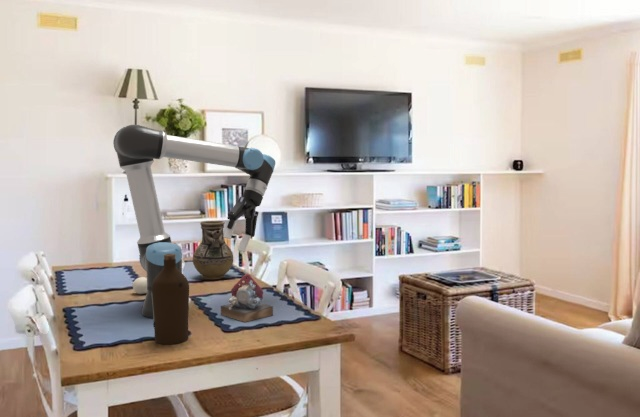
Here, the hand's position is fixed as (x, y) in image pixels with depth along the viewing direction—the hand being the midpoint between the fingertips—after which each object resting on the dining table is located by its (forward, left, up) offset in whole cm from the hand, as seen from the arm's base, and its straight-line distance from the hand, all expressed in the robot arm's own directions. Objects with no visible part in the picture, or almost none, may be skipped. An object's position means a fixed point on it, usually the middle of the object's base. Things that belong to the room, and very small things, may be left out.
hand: (234, 244), depth 213 cm
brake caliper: (-9, -19, -18) cm, 28 cm away
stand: (-9, -18, -21) cm, 29 cm away
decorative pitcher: (+19, +42, -21) cm, 51 cm away
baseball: (-19, +36, -21) cm, 46 cm away
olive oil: (-41, -24, -21) cm, 52 cm away
